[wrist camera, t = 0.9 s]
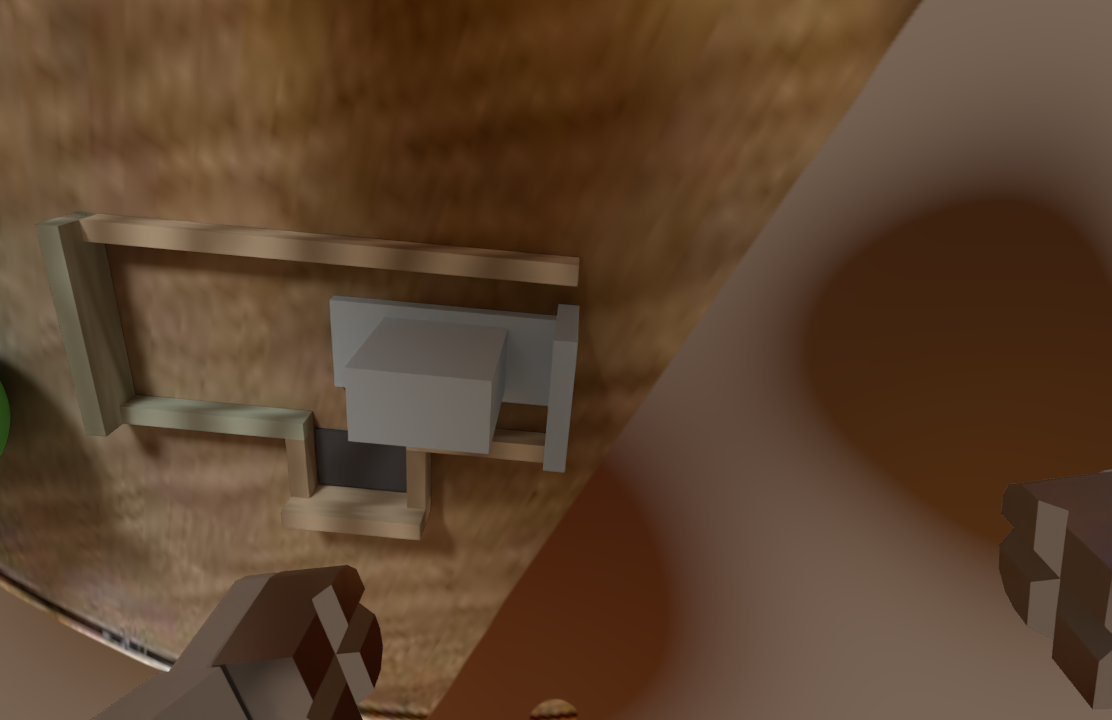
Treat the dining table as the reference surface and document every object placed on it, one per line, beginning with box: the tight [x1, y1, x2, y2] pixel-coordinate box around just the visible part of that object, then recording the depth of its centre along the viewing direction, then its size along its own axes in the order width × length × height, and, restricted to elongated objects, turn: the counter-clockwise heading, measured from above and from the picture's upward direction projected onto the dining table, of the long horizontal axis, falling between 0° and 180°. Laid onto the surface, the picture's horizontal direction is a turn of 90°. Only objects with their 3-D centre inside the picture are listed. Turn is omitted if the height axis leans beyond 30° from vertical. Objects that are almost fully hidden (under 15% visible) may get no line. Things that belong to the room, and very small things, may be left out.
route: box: [35, 212, 580, 540], centre depth 50 cm, size 36×23×4 cm, turn 85°
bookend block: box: [329, 295, 579, 473], centre depth 46 cm, size 18×10×10 cm, turn 85°
